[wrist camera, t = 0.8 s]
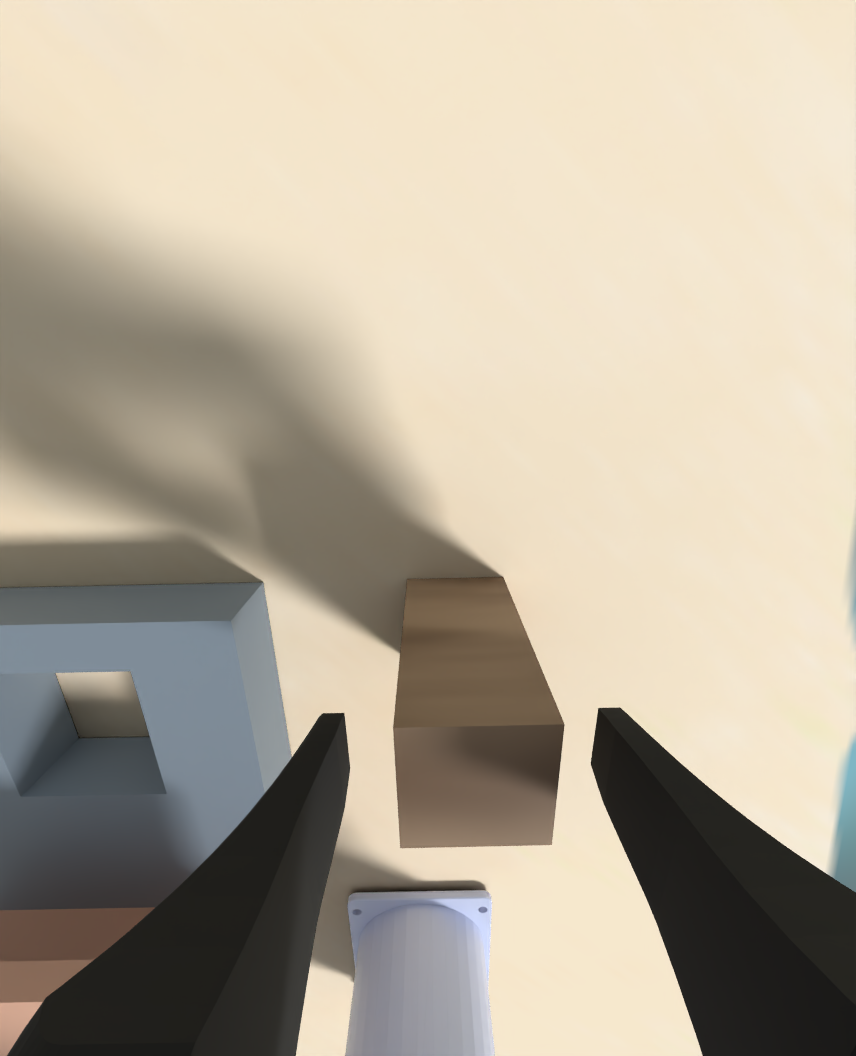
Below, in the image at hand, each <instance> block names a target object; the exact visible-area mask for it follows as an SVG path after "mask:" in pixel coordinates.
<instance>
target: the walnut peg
mask: <svg viewBox="0 0 856 1056" xmlns="http://www.w3.org/2000/svg"><path fill="white" fill-rule="evenodd" d="M393 732H394V749H395V766H396V783H397V800H398V816H399V833H400V848H429V847H476V846H523V845H552V837H553V827H554V818H555V808H556V799H557V790H558V780H559V771H560V761H561V752H562V742H563V733H564V722H563V720H562V717H561V715H560V712H559V710H558V708H557V705H556V703H555V700H554V698H553V696H552V693H551V691H550V688H549V686H548V684H547V681H546V679H545V676H544V674H543V672H542V669H541V667H540V664H539V662H538V660H537V657H536V655H535V652H534V650H533V648H532V645H531V643H530V640H529V638H528V636H527V633H526V631H525V628H524V626H523V624H522V621H521V619H520V616H519V614H518V612H517V609H516V607H515V604H514V602H513V600H512V597H511V595H510V592H509V590H508V588H507V585H506V583H505V580H504V578H503V577H481V578H434V579H407V587H406V598H405V608H404V619H403V630H402V640H401V651H400V662H399V672H398V683H397V694H396V704H395V715H394V725H393Z"/></svg>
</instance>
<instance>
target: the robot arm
mask: <svg viewBox="0 0 856 1056" xmlns="http://www.w3.org/2000/svg"><path fill="white" fill-rule="evenodd" d="M591 766H592V769H593V772H594V775H595V779H596V782H597V785H598V788H599V791H600V794H601V797H602V800H603V803H604V805H605V807H606V810H607V812H608V814H609V816H610V819H611V821H612V823H613V825H614V828H615V830H616V832H617V834H618V837H619V839H620V841H621V843H622V845H623V848H624V850H625V852H626V854H627V857H628V859H629V861H630V863H631V865H632V868H633V870H634V872H635V874H636V876H637V879H638V881H639V883H640V885H641V887H642V890H643V892H644V894H645V896H646V898H647V901H648V903H649V906H650V908H651V910H652V913H653V915H654V918H655V920H656V923H657V925H658V928H659V931H660V934H661V936H662V939H663V942H664V945H665V947H666V950H667V953H668V956H669V958H670V961H671V964H672V967H673V969H674V972H675V975H676V978H677V981H678V984H679V987H680V989H681V992H682V995H683V998H684V1001H685V1004H686V1007H687V1010H688V1013H689V1016H690V1018H691V1021H692V1024H693V1027H694V1030H695V1033H696V1036H697V1039H698V1042H699V1045H700V1048H701V1051H702V1054H703V1056H856V892H854V891H852V890H851V889H849V888H848V887H846V886H844V885H843V884H841V883H840V882H838V881H837V880H835V879H834V878H832V877H830V876H829V875H827V874H826V873H824V872H823V871H821V870H820V869H818V868H817V867H815V866H814V865H812V864H811V863H809V862H808V861H806V860H805V859H803V858H802V857H800V856H799V855H797V854H796V853H794V852H793V851H792V850H790V849H789V848H787V847H786V846H784V845H783V844H782V843H780V842H779V841H777V840H776V839H775V838H773V837H772V836H771V835H769V834H768V833H767V832H765V831H764V830H762V829H761V828H760V827H758V826H757V825H756V824H754V823H753V822H752V821H750V820H749V819H748V818H746V817H745V816H744V815H742V814H741V813H740V812H738V811H737V810H736V809H735V808H733V807H732V806H731V805H730V804H728V803H727V802H726V801H725V800H723V799H722V798H721V797H720V796H719V795H717V794H716V793H715V792H714V791H712V790H711V789H710V788H709V787H708V786H706V785H705V784H704V783H703V782H702V781H700V780H699V779H698V778H697V777H696V776H695V775H693V774H692V773H691V772H690V771H689V770H688V769H687V768H685V767H684V766H683V765H682V764H681V763H680V762H679V761H677V760H676V759H675V758H674V757H673V756H672V755H671V754H670V753H669V752H667V751H666V750H665V749H664V748H663V747H662V746H661V745H660V744H659V743H658V742H657V741H656V740H654V739H653V738H652V737H651V736H650V735H649V734H648V733H647V732H646V731H645V730H644V729H643V728H642V727H641V726H639V725H638V724H637V723H636V722H635V721H634V720H633V719H632V718H631V717H630V716H629V715H628V714H627V713H625V712H624V711H623V710H622V709H621V708H598V715H597V723H596V730H595V737H594V744H593V751H592V758H591ZM349 773H350V763H349V753H348V744H347V734H346V725H345V716H344V713H323V714H322V715H321V716H320V717H319V718H318V720H317V721H316V723H315V724H314V726H313V727H312V729H311V730H310V732H309V733H308V735H307V736H306V738H305V739H304V741H303V742H302V744H301V745H300V747H299V748H298V750H297V751H296V752H295V754H294V755H293V757H292V758H291V759H290V761H289V762H288V763H287V765H286V766H285V768H284V769H283V770H282V772H281V773H280V774H279V776H278V777H277V778H276V780H275V781H274V782H273V784H272V785H271V786H270V787H269V789H268V790H267V791H266V792H265V793H264V795H263V796H262V797H261V798H260V800H259V801H258V802H257V803H256V805H255V806H254V807H253V808H252V809H251V811H250V812H249V813H248V814H247V815H246V817H245V818H244V819H243V820H242V821H241V822H240V823H239V825H238V826H237V827H236V828H235V829H234V830H233V831H232V832H231V834H230V835H229V836H228V837H227V838H226V839H225V840H224V841H223V842H222V843H221V844H220V845H219V846H218V848H217V849H216V850H215V851H214V852H213V853H212V854H211V855H210V856H209V857H208V858H207V859H206V860H205V861H204V862H203V863H202V864H201V865H200V866H199V867H198V868H197V869H196V870H195V871H194V872H193V873H192V874H191V875H190V876H189V877H188V878H187V879H186V880H185V881H184V882H183V883H182V884H181V885H180V886H178V887H177V888H176V889H175V890H174V891H173V892H172V893H171V894H170V895H169V896H168V897H167V898H166V899H164V900H163V901H162V902H161V903H160V904H159V905H158V906H157V907H155V908H154V909H153V910H152V911H151V912H150V913H149V914H148V915H146V916H145V917H144V918H143V919H142V920H141V921H140V922H139V923H137V924H136V925H135V926H134V927H133V928H132V929H131V930H130V931H128V932H127V933H126V934H125V935H124V936H123V937H121V938H120V939H119V940H118V941H117V942H115V943H114V944H113V945H112V946H111V947H109V948H108V949H107V950H106V951H104V952H103V953H102V954H101V955H99V956H98V957H97V958H96V959H94V960H93V961H92V962H91V963H89V964H88V965H87V966H85V967H84V968H83V969H82V970H80V971H79V972H78V973H77V974H75V975H74V976H73V977H72V978H70V979H69V980H68V981H67V982H65V983H64V984H63V985H62V986H60V987H59V988H58V989H56V990H55V991H54V992H52V993H51V994H50V995H48V996H47V997H46V998H45V1000H44V1001H43V1002H42V1004H41V1005H40V1007H39V1008H38V1010H37V1011H36V1013H35V1014H34V1015H33V1017H32V1018H31V1020H30V1021H29V1022H28V1024H27V1025H26V1027H25V1028H24V1030H23V1031H22V1033H21V1034H20V1036H19V1037H18V1039H17V1041H16V1042H15V1044H14V1045H13V1047H12V1048H11V1050H10V1052H9V1053H8V1055H7V1056H296V1049H297V1042H298V1036H299V1030H300V1023H301V1017H302V1010H303V1004H304V998H305V991H306V985H307V979H308V973H309V967H310V961H311V955H312V949H313V943H314V937H315V931H316V926H317V921H318V916H319V911H320V907H321V902H322V898H323V894H324V890H325V886H326V882H327V878H328V874H329V870H330V866H331V862H332V858H333V854H334V850H335V845H336V841H337V837H338V833H339V829H340V825H341V821H342V817H343V812H344V808H345V801H346V794H347V787H348V780H349ZM347 907H348V915H349V923H350V931H351V939H352V947H353V955H354V963H355V979H354V987H353V996H352V1004H351V1012H350V1020H349V1029H348V1037H347V1045H346V1053H345V1056H495V1050H494V1040H493V1031H492V1021H491V1011H490V1002H489V992H488V981H489V958H490V935H491V912H492V900H491V894H490V893H489V892H488V891H485V890H462V891H410V892H358V893H353V894H351V895H350V896H349V898H348V904H347Z"/></svg>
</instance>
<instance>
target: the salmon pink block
mask: <svg viewBox="0 0 856 1056" xmlns="http://www.w3.org/2000/svg"><path fill="white" fill-rule="evenodd" d="M154 908H155V907H148V908H95V909H43V910H0V1056H7V1055H8V1053H9V1052H10V1050H11V1048H12V1047H13V1045H14V1044H15V1042H16V1041H17V1039H18V1037H19V1036H20V1034H21V1033H22V1031H23V1030H24V1028H25V1027H26V1025H27V1024H28V1022H29V1021H30V1020H31V1018H32V1017H33V1015H34V1014H35V1013H36V1011H37V1010H38V1008H39V1007H40V1005H41V1004H42V1002H43V1001H44V1000H45V998H46V997H47V996H48V995H50V994H51V993H52V992H54V991H55V990H56V989H58V988H59V987H60V986H62V985H63V984H64V983H65V982H67V981H68V980H69V979H70V978H72V977H73V976H74V975H75V974H77V973H78V972H79V971H80V970H82V969H83V968H84V967H85V966H87V965H88V964H89V963H91V962H92V961H93V960H94V959H96V958H97V957H98V956H99V955H101V954H102V953H103V952H104V951H106V950H107V949H108V948H109V947H111V946H112V945H113V944H114V943H115V942H117V941H118V940H119V939H120V938H121V937H123V936H124V935H125V934H126V933H127V932H128V931H130V930H131V929H132V928H133V927H134V926H135V925H136V924H137V923H139V922H140V921H141V920H142V919H143V918H144V917H145V916H146V915H148V914H149V913H150V912H151V911H152V910H153V909H154Z"/></svg>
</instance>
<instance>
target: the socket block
mask: <svg viewBox="0 0 856 1056" xmlns="http://www.w3.org/2000/svg"><path fill="white" fill-rule="evenodd" d="M114 671H131V675H132V678H133V682H134V685H135V688H136V692H137V695H138V698H139V702H140V705H141V708H142V712H143V715H144V719H145V722H146V725H147V729H148V732H149V735H150V737H120V738H79V737H78V735H77V732H76V729H75V726H74V724H73V721H72V718H71V715H70V713H69V710H68V707H67V705H66V702H65V699H64V696H63V694H62V691H61V688H60V685H59V683H58V680H57V677H56V675H55V673H64V672H114ZM291 758H292V757H291V751H290V745H289V739H288V733H287V726H286V720H285V714H284V708H283V702H282V695H281V689H280V683H279V677H278V671H277V665H276V658H275V652H274V646H273V640H272V634H271V628H270V621H269V615H268V609H267V603H266V597H265V591H264V584H263V582H261V583H213V584H164V585H115V586H67V587H18V588H0V910H43V909H95V908H148V907H157V906H158V905H159V904H160V903H161V902H162V901H163V900H164V899H166V898H167V897H168V896H169V895H170V894H171V893H172V892H173V891H174V890H175V889H176V888H177V887H178V886H180V885H181V884H182V883H183V882H184V881H185V880H186V879H187V878H188V877H189V876H190V875H191V874H192V873H193V872H194V871H195V870H196V869H197V868H198V867H199V866H200V865H201V864H202V863H203V862H204V861H205V860H206V859H207V858H208V857H209V856H210V855H211V854H212V853H213V852H214V851H215V850H216V849H217V848H218V846H219V845H220V844H221V843H222V842H223V841H224V840H225V839H226V838H227V837H228V836H229V835H230V834H231V832H232V831H233V830H234V829H235V828H236V827H237V826H238V825H239V823H240V822H241V821H242V820H243V819H244V818H245V817H246V815H247V814H248V813H249V812H250V811H251V809H252V808H253V807H254V806H255V805H256V803H257V802H258V801H259V800H260V798H261V797H262V796H263V795H264V793H265V792H266V791H267V790H268V789H269V787H270V786H271V785H272V784H273V782H274V781H275V780H276V778H277V777H278V776H279V774H280V773H281V772H282V770H283V769H284V768H285V766H286V765H287V763H288V762H289V761H290V759H291Z"/></svg>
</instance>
